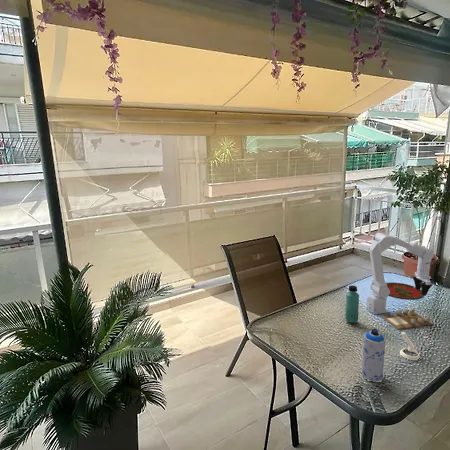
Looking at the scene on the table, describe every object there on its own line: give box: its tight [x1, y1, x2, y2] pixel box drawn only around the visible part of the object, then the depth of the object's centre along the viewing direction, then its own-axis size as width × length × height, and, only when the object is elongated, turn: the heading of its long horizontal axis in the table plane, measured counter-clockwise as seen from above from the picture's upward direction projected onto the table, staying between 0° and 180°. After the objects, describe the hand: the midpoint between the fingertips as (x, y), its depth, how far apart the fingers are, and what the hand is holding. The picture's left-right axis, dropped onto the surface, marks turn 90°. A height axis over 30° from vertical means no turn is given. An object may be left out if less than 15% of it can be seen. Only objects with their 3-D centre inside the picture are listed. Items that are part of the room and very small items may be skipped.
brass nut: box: [407, 311, 420, 321], centre depth 160 cm, size 5×4×2 cm
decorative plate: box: [386, 282, 425, 301], centre depth 196 cm, size 25×1×25 cm
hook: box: [399, 331, 421, 361], centre depth 133 cm, size 8×12×7 cm
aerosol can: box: [361, 328, 386, 381], centre depth 119 cm, size 8×8×20 cm
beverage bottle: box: [344, 285, 360, 323], centre depth 159 cm, size 6×7×20 cm
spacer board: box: [381, 307, 434, 330], centre depth 160 cm, size 20×13×3 cm, turn 101°
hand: (420, 292), depth 171 cm, fingers open, 7 cm apart
